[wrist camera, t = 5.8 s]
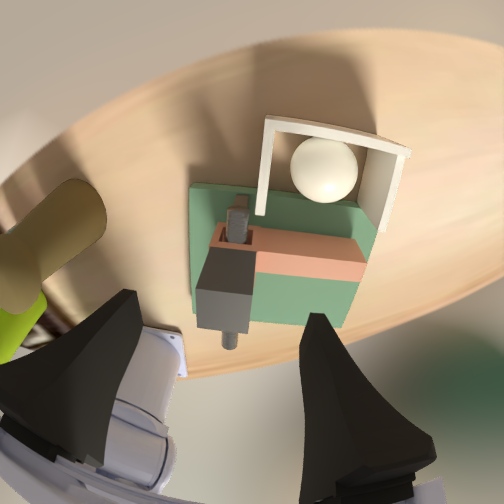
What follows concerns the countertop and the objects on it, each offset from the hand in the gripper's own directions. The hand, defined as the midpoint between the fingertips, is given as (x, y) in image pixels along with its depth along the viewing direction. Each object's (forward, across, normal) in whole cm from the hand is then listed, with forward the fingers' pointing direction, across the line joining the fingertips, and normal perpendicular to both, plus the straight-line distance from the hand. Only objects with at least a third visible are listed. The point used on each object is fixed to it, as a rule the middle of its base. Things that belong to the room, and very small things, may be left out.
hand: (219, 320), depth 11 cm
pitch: (+10, -3, +3) cm, 11 cm away
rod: (+9, 0, +3) cm, 9 cm away
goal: (+10, -5, -5) cm, 12 cm away
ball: (+8, -5, -5) cm, 10 cm away
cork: (+10, +14, 0) cm, 17 cm away
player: (+8, -3, 0) cm, 9 cm away
